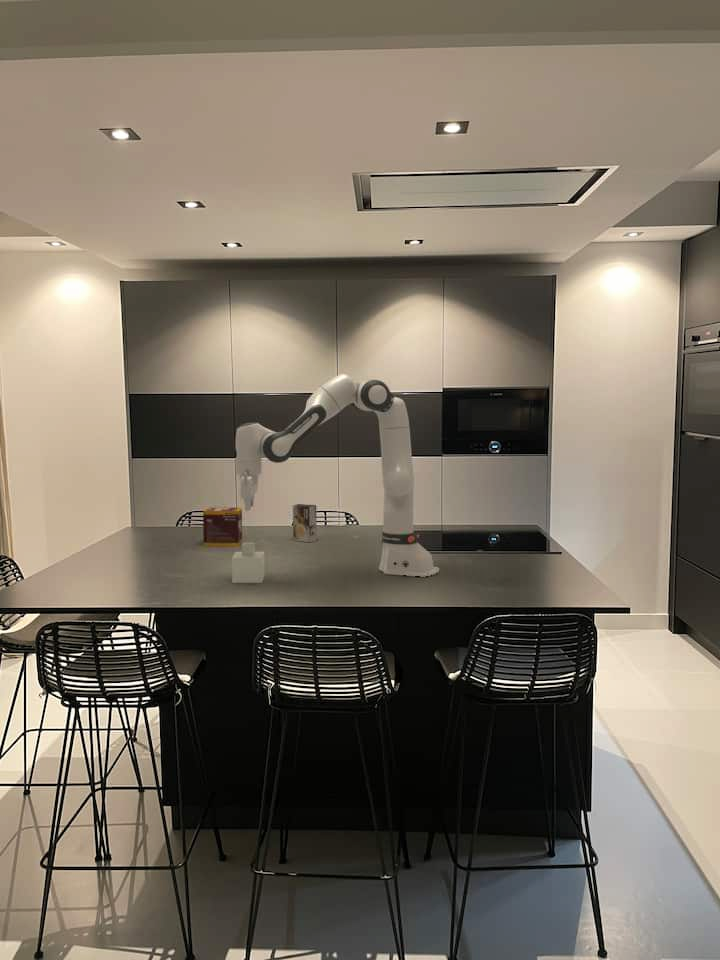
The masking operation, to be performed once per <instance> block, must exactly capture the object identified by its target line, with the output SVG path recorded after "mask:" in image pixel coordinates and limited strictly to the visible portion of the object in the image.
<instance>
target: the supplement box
mask: <svg viewBox="0 0 720 960" xmlns="http://www.w3.org/2000/svg"><path fill="white" fill-rule="evenodd" d="M202 514H203V515H202V518H203V519H202V522H203V523H202V524H203V525H202V529H203V531H202V532H203V533H202V534H203V543H202V544H203V547H239V546H241V545H242V544H243V507H228V506H227V507H226V506H225V507H222V506H221V507H219V506H218V507H215V506H214V507H211V506H210V507H207V508H206V509H204V510H203V513H202Z"/></svg>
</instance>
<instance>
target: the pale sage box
mask: <svg viewBox="0 0 720 960" xmlns="http://www.w3.org/2000/svg"><path fill="white" fill-rule="evenodd" d="M255 544H256V542H249V541H248V542H247V541H246V542H243V541H242V543H241V551H235V552H234V554H233V556H232V557H231V578H232V579H231V581H232V584H263V581H264V579H265V576H266V569H265V568H266V566H265V565H266V564H265V560H266V559H265V558H266V554H265V551H256V545H255Z"/></svg>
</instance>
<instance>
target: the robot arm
mask: <svg viewBox="0 0 720 960" xmlns="http://www.w3.org/2000/svg"><path fill="white" fill-rule="evenodd" d="M349 405H351V406H353V407H354V408H356V410H359V411H362V412H374V413H375V414H376V416H377V419H378V427H379V429H378V431H379V438H380V439H379V441H380V450H381V451H380V453H381V472H382V484H383V487H384V488H383V490H384V492H383V521H382V523H383V525H382V526H383V527H382V528H383V531H382V532H381V533H382V534H381V544H382V551H381V556H380V557H381V558H380V563H379V566H378V570H379V571H381V572H382V573H383V574H384V575H392V576H403V575H406V577H415V576H420V577H419V578H426V576H428V577H431V575H432V576H434V575H436V573H437V574H438V573H439V572H440V568H439V567H438V566H434V561H433V556H432V554H431V553H430V552H429V551H428V550H427V549H425V547H423V546H422V545H421V544H420V543H419V542H418V539H419V538H420V537H419V536H420V534H416V533H415V532H414V495H415V494H414V483H415V482H414V481H415V478H414V469H413V467H414V466H413V456H412V441H411V430H410V428H411V427H410V420H409V414H408V410H407V407H406V403H405V401H404V400H403V399H402V398H400V397H396V396H394V395H393V394H392V392H391V391H390V389H389V387H388V385H387V384H386V383H385V382H383V381H382V380H379V379H367V380H364V381H361V382H357V381H356V380H354V378H353V377H351V376H350V375H349V374H347V373H346V374H345V373H341V374H338V375H337V376H335V377H333V378H331V379H329V380H328V381H326V382H325V383H324V384H322V385H321V386H320V387H318V388H317V389H316V390H315V391H314V392H313V393H312V394H311V395H310V397H308V398H307V400H306V404H305V409H304V411H303V413H302V414H301V415H300V416H299V417H298V418H297V419H296V420H295V421H294V422H291V424H289V426H287V428H284V430H281V431H279V432H277V431H274V430H271V429H269V428H266V427H264V426H263V425H261V424H260V423H259V422H256V421H255V422H247V423H243V424H241V425H239V426H238V427H237V428H236V432H235V433H236V434H235V451H236V457H235V474H236V475H238V476H239V480H240V498H241V500H243V504H244V510H245V511H246V512H249V511H251V508H252V507H254V501H255V494H256V493H257V491H258V485H259V475H262V459H263V458H266V459H268V461H270V462H273V463H276V464H278V463H279V464H280V463H284V462H286V461H287V460H289V459H290V458H291V456H292V454H293V452H294V451H295V449H296V447H297V445H298V444H299V443H300V442H301V441H302V440H303V439H304V438H306V437H307V436H308V435H309V434H310V433H311V432H312V431H313V430H315V429H316V428H317V427H318V426H320V425H322V424H324V423H325V422H326V421H328V420H330V419H332V418H333V417H335V416H336V415H337V414H338V413H340V412H341V411H342V410H343V409H344V408H345V407H347V406H349Z"/></svg>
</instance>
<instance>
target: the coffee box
mask: <svg viewBox="0 0 720 960" xmlns="http://www.w3.org/2000/svg"><path fill="white" fill-rule="evenodd" d="M292 533H293V534H292V535H293V538H292V539H293V540H292V541H293V542H305V543H312V542H315V541H317V537H318V536H317V505H316V504H307V503H305V504H304V503H298V504H294V505H292Z"/></svg>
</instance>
